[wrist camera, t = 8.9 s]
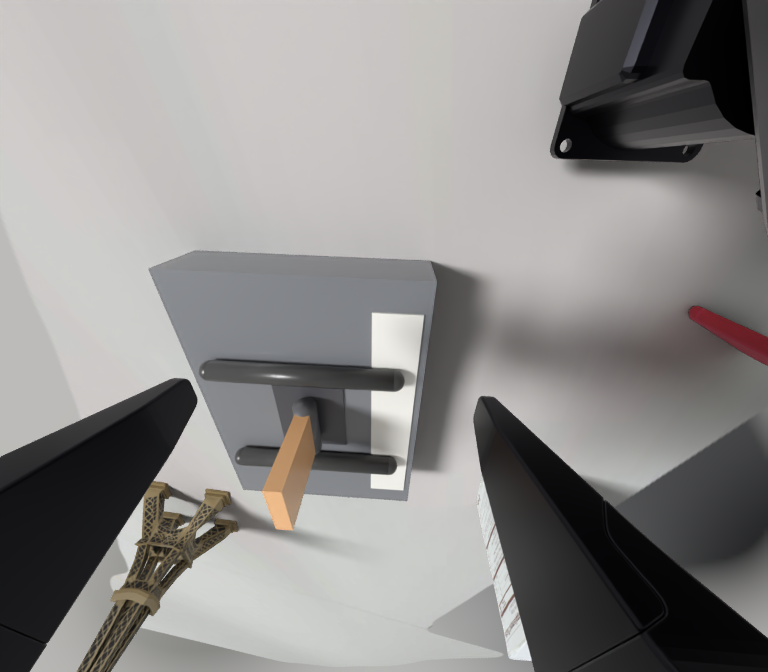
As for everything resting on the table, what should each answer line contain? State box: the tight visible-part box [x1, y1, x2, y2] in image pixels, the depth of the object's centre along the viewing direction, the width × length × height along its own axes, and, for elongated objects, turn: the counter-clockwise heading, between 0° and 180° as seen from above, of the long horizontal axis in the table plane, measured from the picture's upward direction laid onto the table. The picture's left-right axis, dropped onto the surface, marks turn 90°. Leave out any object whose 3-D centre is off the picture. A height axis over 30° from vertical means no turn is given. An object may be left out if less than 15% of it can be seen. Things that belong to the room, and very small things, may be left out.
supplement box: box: [476, 476, 532, 661], centre depth 25 cm, size 7×7×13 cm
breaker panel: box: [149, 251, 437, 501], centre depth 22 cm, size 16×22×5 cm
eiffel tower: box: [77, 481, 238, 672], centre depth 27 cm, size 11×11×25 cm
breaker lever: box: [262, 397, 322, 530], centre depth 18 cm, size 2×4×6 cm, turn 179°
